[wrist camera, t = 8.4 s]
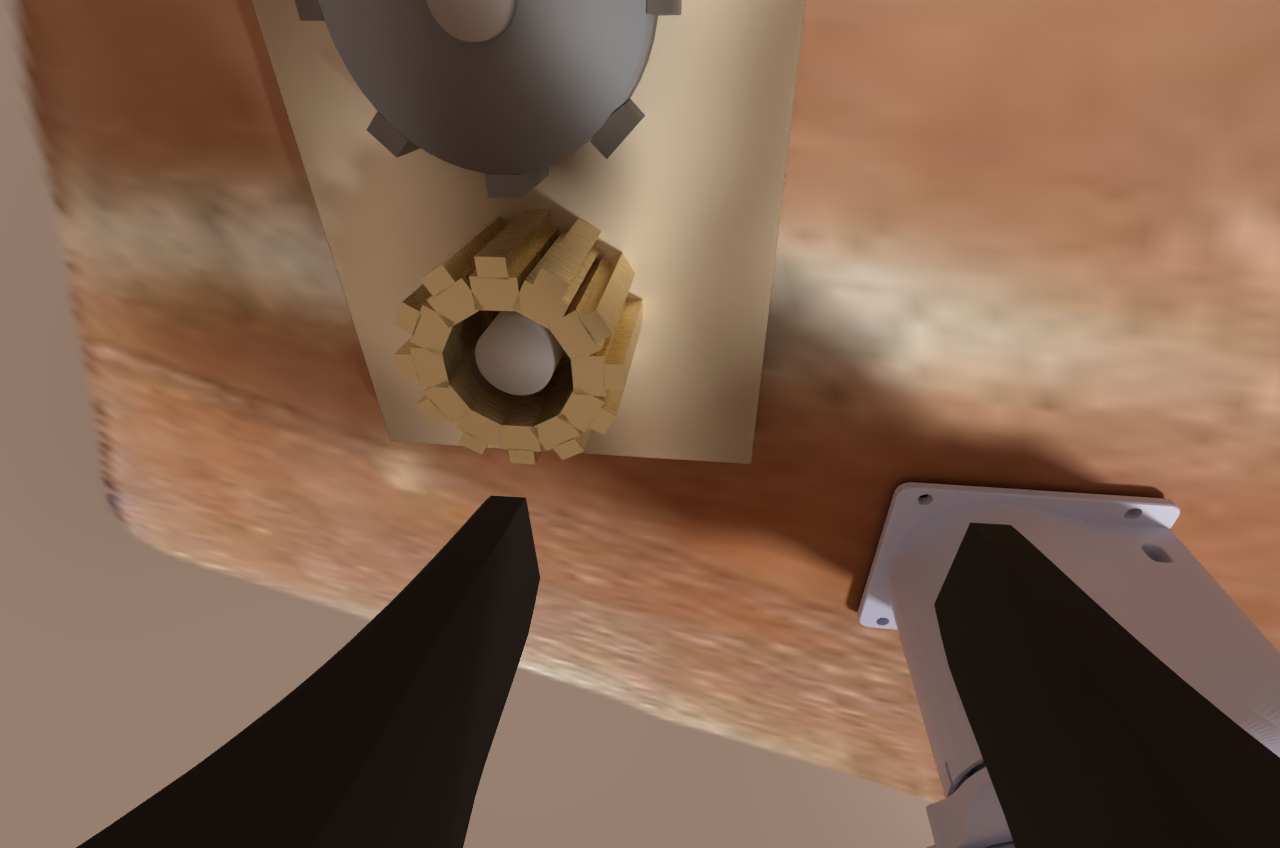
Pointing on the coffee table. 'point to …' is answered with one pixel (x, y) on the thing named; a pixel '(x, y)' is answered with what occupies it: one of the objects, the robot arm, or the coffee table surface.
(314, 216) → the coffee table surface
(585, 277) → the brass gear
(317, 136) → the gear board
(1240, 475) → the coffee table surface
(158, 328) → the coffee table surface
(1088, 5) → the coffee table surface
